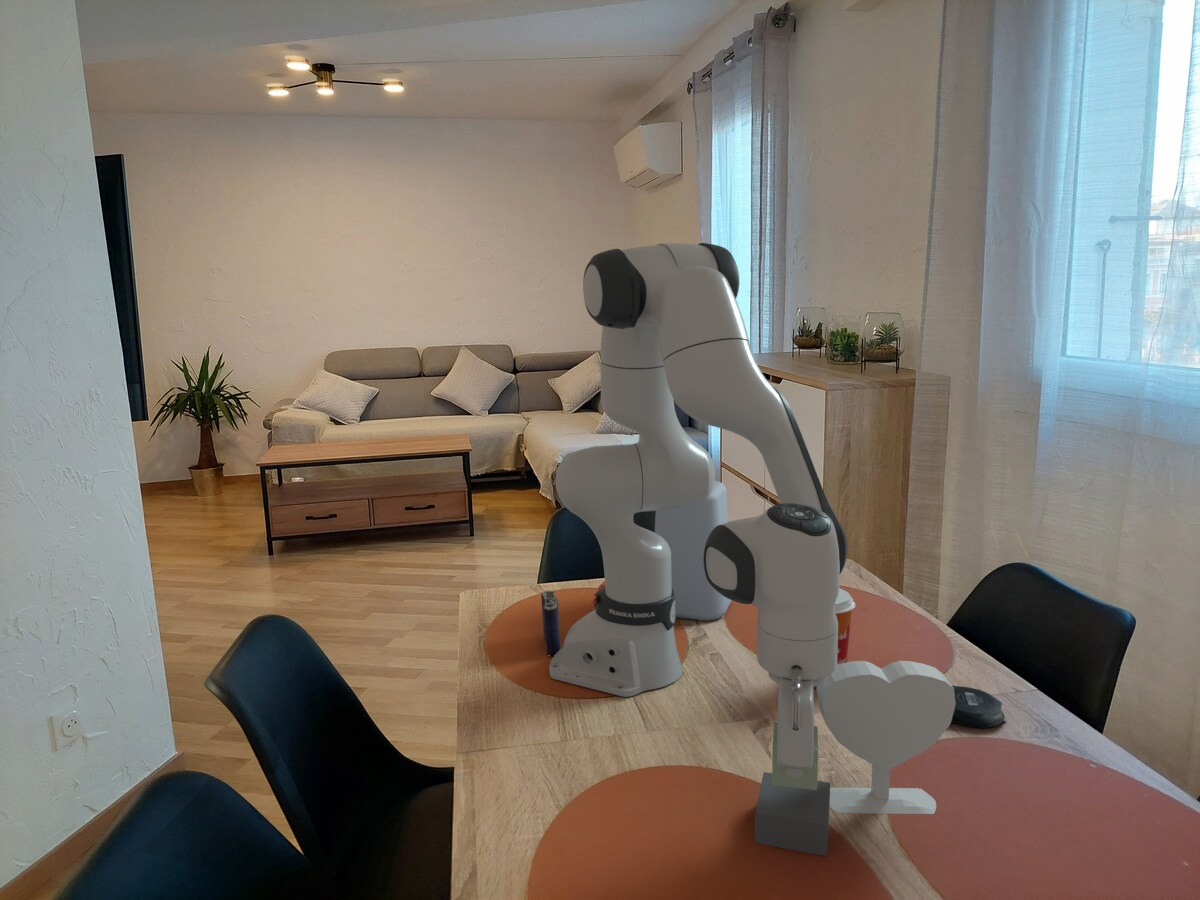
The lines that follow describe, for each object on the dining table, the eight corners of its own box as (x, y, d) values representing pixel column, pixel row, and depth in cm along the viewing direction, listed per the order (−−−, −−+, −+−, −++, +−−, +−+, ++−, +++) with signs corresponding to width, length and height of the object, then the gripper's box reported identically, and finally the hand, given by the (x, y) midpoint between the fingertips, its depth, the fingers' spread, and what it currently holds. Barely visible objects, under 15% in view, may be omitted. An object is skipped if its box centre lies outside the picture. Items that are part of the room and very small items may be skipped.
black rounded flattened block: (900, 734, 116) (1012, 732, 112) (895, 697, 115) (1008, 693, 111) (894, 709, 125) (998, 706, 120) (890, 675, 124) (994, 671, 120)
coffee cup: (795, 689, 126) (796, 601, 123) (802, 666, 133) (804, 582, 130) (849, 698, 123) (853, 607, 120) (854, 673, 130) (857, 588, 127)
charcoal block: (754, 842, 92) (755, 812, 91) (763, 800, 99) (763, 771, 98) (826, 856, 89) (827, 825, 88) (829, 811, 97) (830, 782, 96)
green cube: (772, 784, 91) (772, 745, 90) (773, 759, 96) (774, 722, 95) (817, 790, 90) (818, 750, 89) (816, 764, 94) (817, 726, 93)
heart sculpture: (936, 788, 100) (944, 657, 97) (950, 814, 96) (960, 677, 92) (812, 787, 101) (815, 658, 98) (820, 813, 96) (824, 677, 93)
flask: (542, 635, 148) (540, 581, 146) (558, 634, 148) (556, 580, 146) (546, 658, 139) (543, 601, 137) (562, 656, 140) (560, 599, 137)
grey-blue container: (737, 596, 164) (737, 464, 158) (721, 625, 150) (721, 482, 144) (666, 588, 169) (664, 461, 163) (645, 616, 155) (642, 478, 150)
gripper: (828, 696, 79) (825, 819, 81) (823, 614, 98) (821, 716, 101) (764, 690, 80) (763, 811, 83) (771, 611, 100) (770, 711, 102)
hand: (794, 758), depth 92 cm, fingers closed on green cube, 5 cm apart
